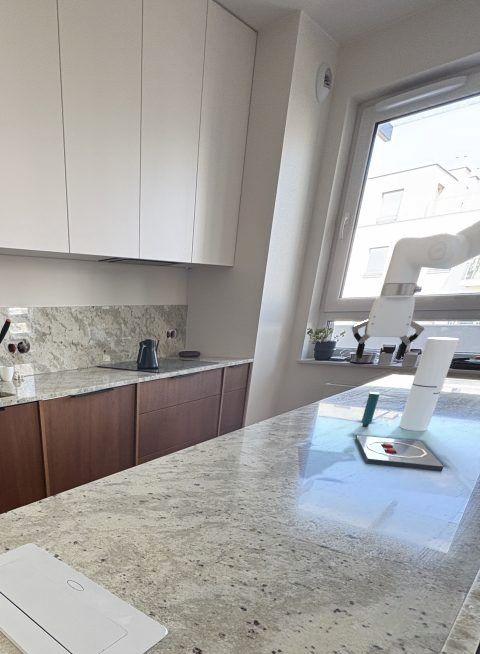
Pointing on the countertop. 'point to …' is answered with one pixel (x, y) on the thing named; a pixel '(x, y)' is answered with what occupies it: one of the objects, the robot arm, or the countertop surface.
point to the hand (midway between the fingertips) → (378, 358)
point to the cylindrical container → (428, 382)
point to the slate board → (397, 453)
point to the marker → (370, 408)
